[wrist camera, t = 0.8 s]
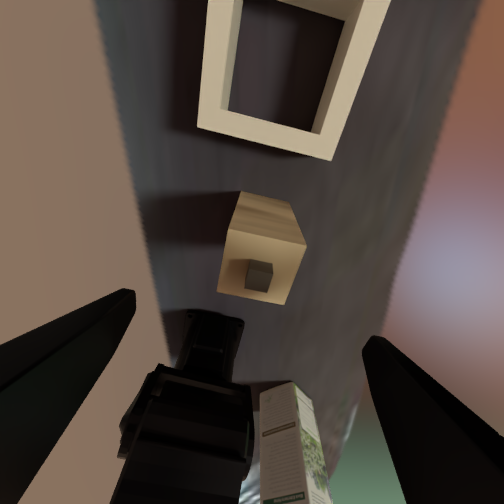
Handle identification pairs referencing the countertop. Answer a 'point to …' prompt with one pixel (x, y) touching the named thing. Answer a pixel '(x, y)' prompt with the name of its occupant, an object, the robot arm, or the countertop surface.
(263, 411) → the syrup box
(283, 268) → the wooden peg
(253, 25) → the countertop surface
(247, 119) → the cream square ring
